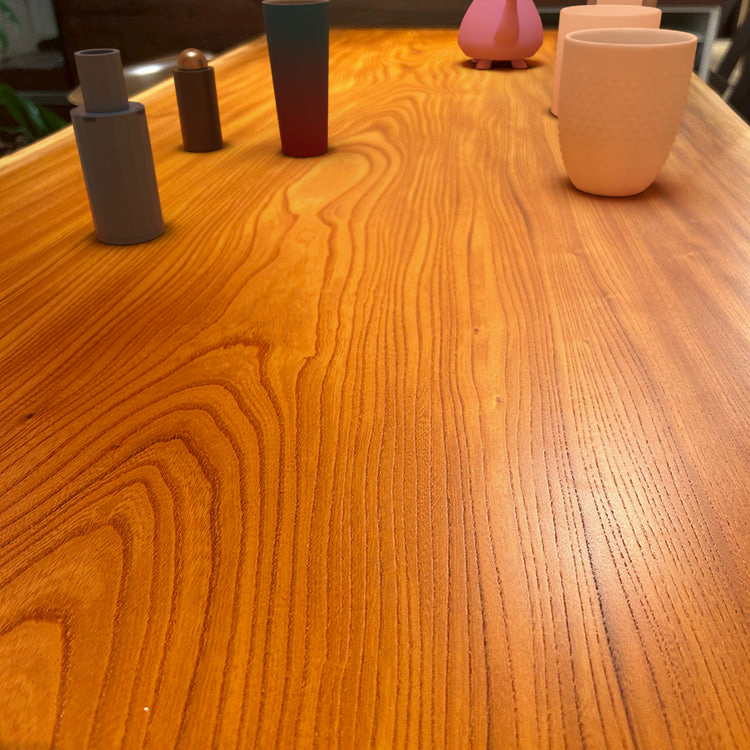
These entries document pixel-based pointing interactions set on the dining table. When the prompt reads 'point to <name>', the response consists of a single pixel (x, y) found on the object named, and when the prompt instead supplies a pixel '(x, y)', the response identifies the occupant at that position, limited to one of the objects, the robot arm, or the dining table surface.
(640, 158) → the mug
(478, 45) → the teapot
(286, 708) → the dining table surface
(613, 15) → the cup
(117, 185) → the bottle
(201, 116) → the pepper mill
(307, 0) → the cup
